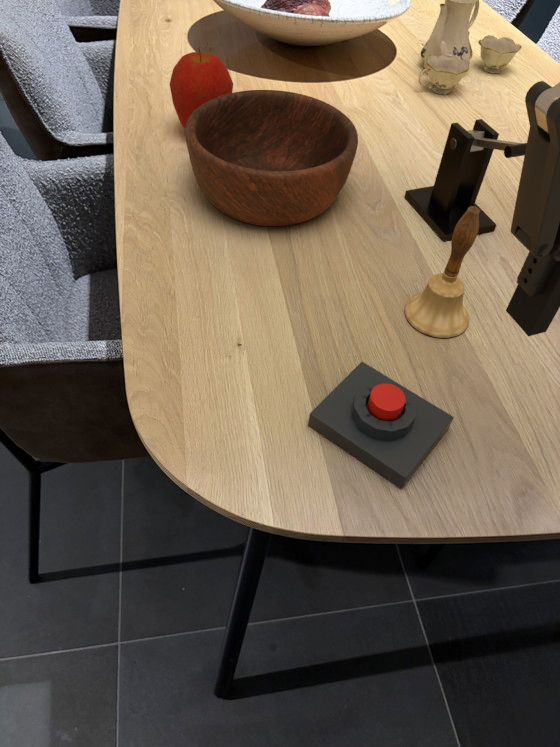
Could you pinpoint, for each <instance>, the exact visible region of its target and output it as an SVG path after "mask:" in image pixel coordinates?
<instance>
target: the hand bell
mask: <svg viewBox="0 0 560 747" xmlns="http://www.w3.org/2000/svg"><path fill="white" fill-rule="evenodd" d="M479 212H480V210H479V209H478V208H477V207H474V206H470V207H469V208H468V209H467V211H466V212H465V214H464V215H463V216H462V217H461V219H460V220H459V221H458V223H457V225H456V227H455V229H454V232H453V236H452V240H451V242H450V244H451V245H450V247H451V249H450V250H451V251H450V255H449V258H448V260H447V263H446V265H445V267H444V271H443V272H441V273H435V274H433V275H432V276H431V277H430V278H429V279H428V282H427V284H426V286H425V288H424V289H423V291H422V292H420V293H418V294H415V295H414V296H412V297H411V298H410V299H409V300H408V301H407V302H406V304H405V306H404V316H405V318H406V320H407V322H408V323H409V324H410V326H412V328H414V329H415V330H417V331H418V332H420V333H422V334H423V335H427V336H429V337H433V338H441V339H448V338H454V337H457V336H460V335H461V334H463V333H464V332H466V330H467V329H468V327H469V324H470V315H469V313H468V310H467V308H466V307H465V305H464V303H463V302H464V294H465V291H466V290H465V289H466V288H465V284H464V281H463V280H461V278H459V277H458V276H459V273H460V270H461V267H462V263H463V260H464V258H465V256H466V255H467V253H468V252H469V251H470V250H471V248H472V247H473V245H474V244H475V241H476V239H477V236H478V235H479V234H478V229H479ZM477 234H478V235H477Z"/></svg>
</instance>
